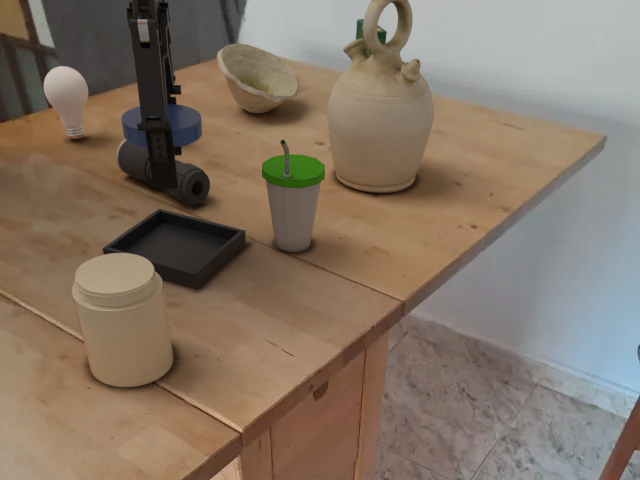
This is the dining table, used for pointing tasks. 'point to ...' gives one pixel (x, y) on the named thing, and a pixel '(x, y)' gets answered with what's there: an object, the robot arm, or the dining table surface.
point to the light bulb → (67, 98)
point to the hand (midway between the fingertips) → (168, 170)
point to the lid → (181, 121)
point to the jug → (380, 109)
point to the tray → (180, 246)
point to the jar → (123, 319)
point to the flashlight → (189, 176)
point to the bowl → (257, 77)
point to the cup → (293, 197)
